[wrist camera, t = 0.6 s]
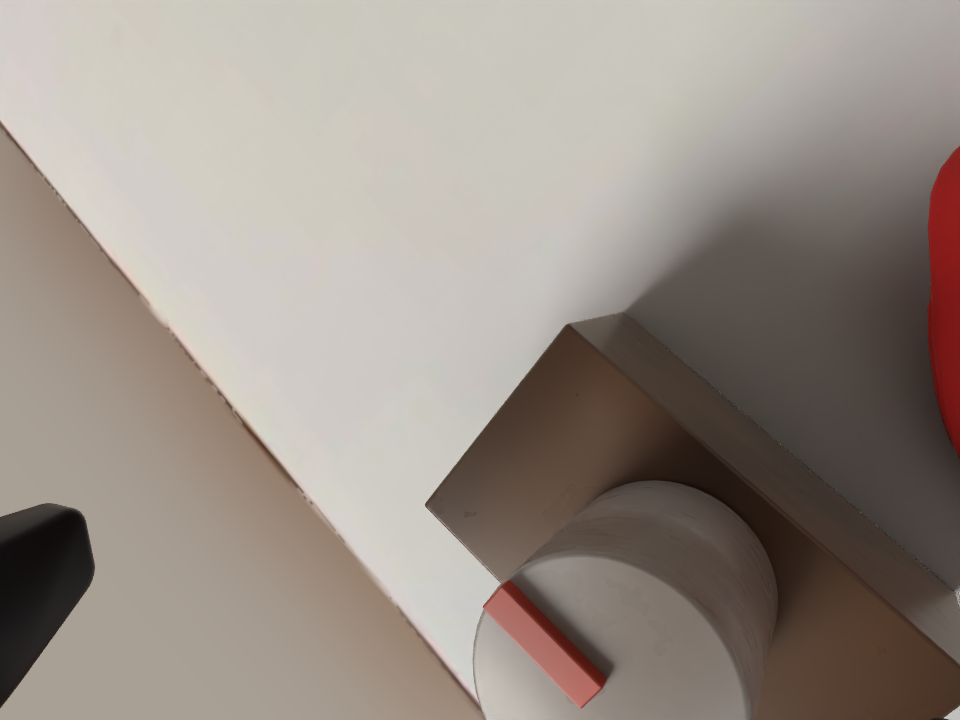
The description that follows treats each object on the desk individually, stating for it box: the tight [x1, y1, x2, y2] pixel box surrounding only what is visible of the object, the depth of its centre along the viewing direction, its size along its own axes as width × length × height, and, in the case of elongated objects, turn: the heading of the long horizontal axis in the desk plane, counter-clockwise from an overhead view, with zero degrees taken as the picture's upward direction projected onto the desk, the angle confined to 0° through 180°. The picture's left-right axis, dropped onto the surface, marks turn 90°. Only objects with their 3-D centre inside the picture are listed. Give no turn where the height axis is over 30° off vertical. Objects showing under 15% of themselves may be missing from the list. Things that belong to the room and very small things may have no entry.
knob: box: [473, 480, 778, 720], centre depth 14 cm, size 4×4×5 cm
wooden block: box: [425, 312, 960, 720], centre depth 18 cm, size 10×6×4 cm, turn 51°
